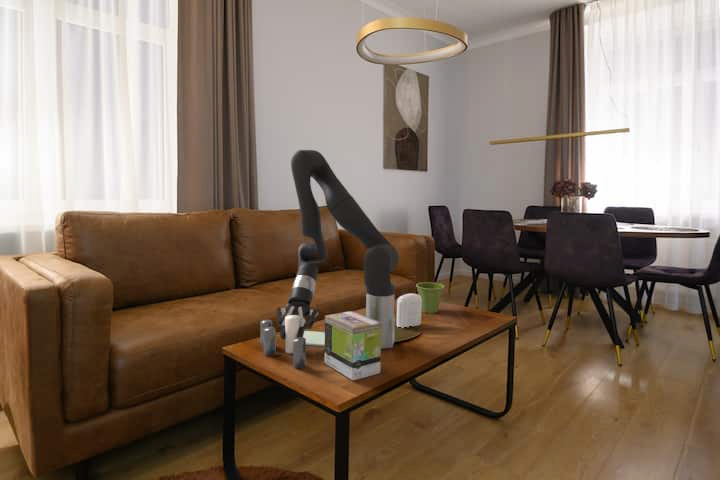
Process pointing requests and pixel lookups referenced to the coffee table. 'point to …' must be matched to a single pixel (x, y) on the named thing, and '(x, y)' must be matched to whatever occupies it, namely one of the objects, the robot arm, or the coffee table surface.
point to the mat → (314, 338)
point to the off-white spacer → (291, 331)
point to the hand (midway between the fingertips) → (290, 338)
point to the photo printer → (409, 310)
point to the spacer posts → (270, 344)
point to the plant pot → (430, 296)
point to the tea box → (353, 344)
